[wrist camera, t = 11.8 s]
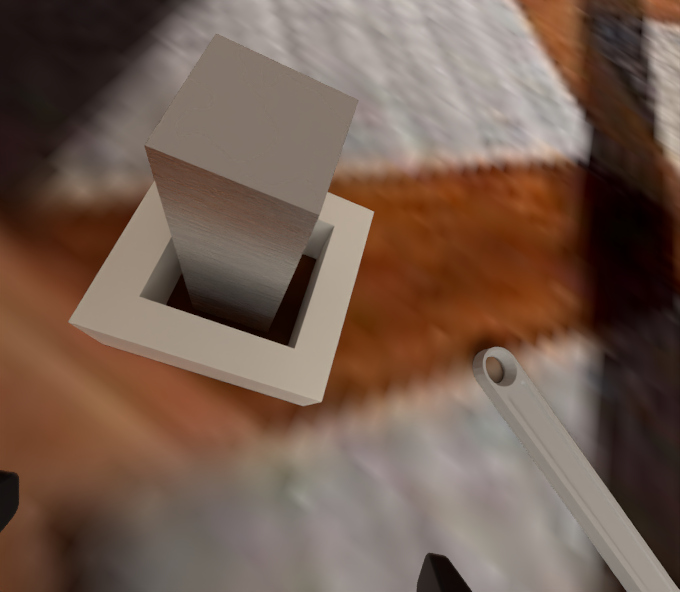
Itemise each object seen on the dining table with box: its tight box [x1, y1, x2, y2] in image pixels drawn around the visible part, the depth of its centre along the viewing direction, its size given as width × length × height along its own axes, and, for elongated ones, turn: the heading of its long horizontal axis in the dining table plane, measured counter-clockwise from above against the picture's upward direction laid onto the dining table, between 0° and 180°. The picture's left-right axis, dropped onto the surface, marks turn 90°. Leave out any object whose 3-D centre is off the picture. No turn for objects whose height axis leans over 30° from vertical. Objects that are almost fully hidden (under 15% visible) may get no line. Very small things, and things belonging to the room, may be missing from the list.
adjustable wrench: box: [473, 347, 680, 592], centre depth 21 cm, size 25×6×2 cm, turn 30°
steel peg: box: [144, 34, 358, 333], centre depth 14 cm, size 4×4×12 cm
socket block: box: [68, 180, 374, 406], centre depth 18 cm, size 10×10×4 cm
